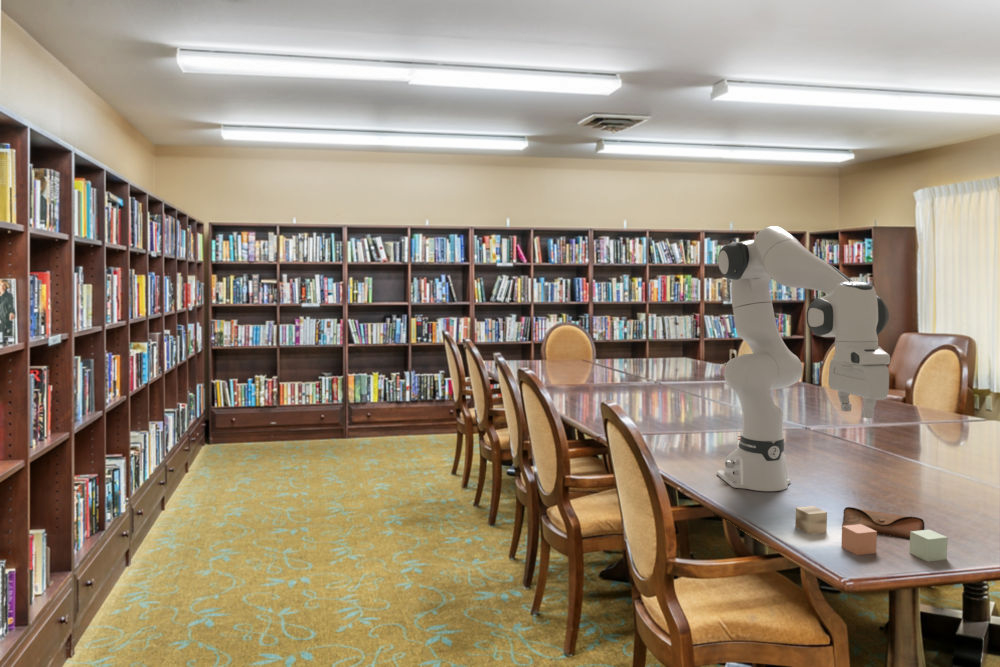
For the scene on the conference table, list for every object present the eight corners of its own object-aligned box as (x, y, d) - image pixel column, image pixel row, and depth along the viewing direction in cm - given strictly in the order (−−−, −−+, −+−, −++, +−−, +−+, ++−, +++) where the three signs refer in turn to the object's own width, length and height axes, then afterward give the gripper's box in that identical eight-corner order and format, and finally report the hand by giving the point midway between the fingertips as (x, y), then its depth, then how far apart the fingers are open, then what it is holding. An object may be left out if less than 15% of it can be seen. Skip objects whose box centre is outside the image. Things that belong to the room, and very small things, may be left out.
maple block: (795, 527, 181) (795, 507, 181) (813, 525, 183) (813, 505, 182) (808, 534, 177) (808, 514, 176) (826, 532, 178) (827, 512, 177)
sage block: (909, 553, 164) (910, 531, 164) (928, 551, 166) (929, 529, 165) (927, 561, 160) (928, 539, 159) (946, 559, 161) (947, 537, 160)
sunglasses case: (839, 528, 180) (841, 501, 182) (841, 535, 185) (843, 509, 188) (924, 541, 171) (925, 513, 173) (924, 548, 176) (925, 520, 179)
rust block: (841, 547, 168) (842, 525, 168) (860, 545, 170) (860, 524, 169) (856, 555, 164) (857, 533, 163) (876, 553, 165) (876, 531, 164)
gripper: (821, 350, 177) (821, 407, 178) (865, 357, 157) (865, 422, 157) (847, 349, 177) (847, 407, 178) (895, 356, 157) (894, 421, 158)
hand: (856, 414), depth 168 cm, fingers open, 8 cm apart
